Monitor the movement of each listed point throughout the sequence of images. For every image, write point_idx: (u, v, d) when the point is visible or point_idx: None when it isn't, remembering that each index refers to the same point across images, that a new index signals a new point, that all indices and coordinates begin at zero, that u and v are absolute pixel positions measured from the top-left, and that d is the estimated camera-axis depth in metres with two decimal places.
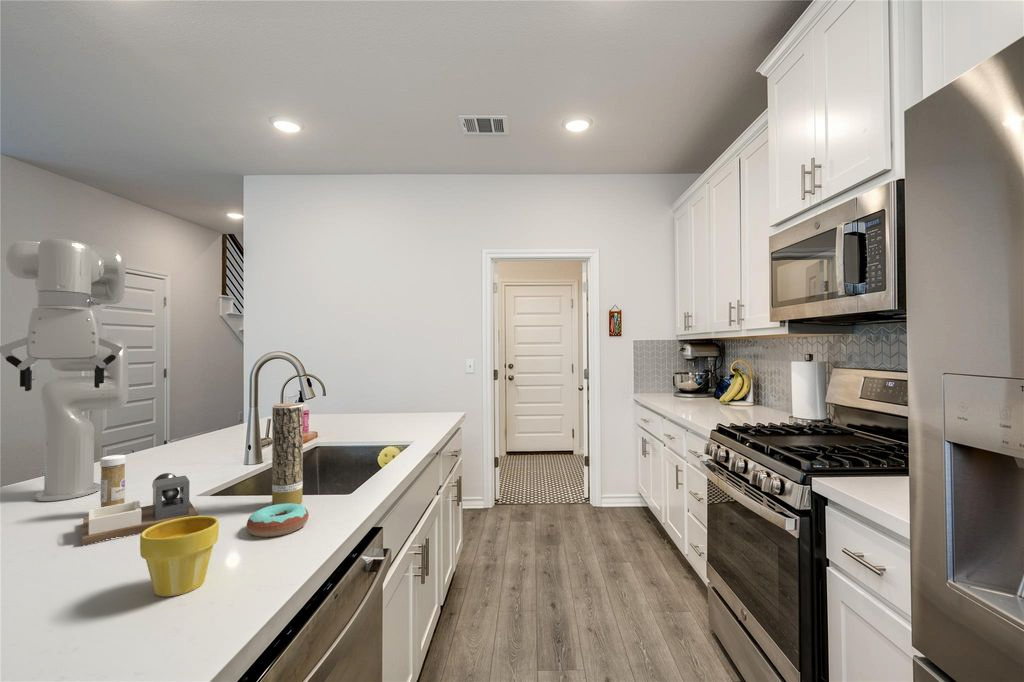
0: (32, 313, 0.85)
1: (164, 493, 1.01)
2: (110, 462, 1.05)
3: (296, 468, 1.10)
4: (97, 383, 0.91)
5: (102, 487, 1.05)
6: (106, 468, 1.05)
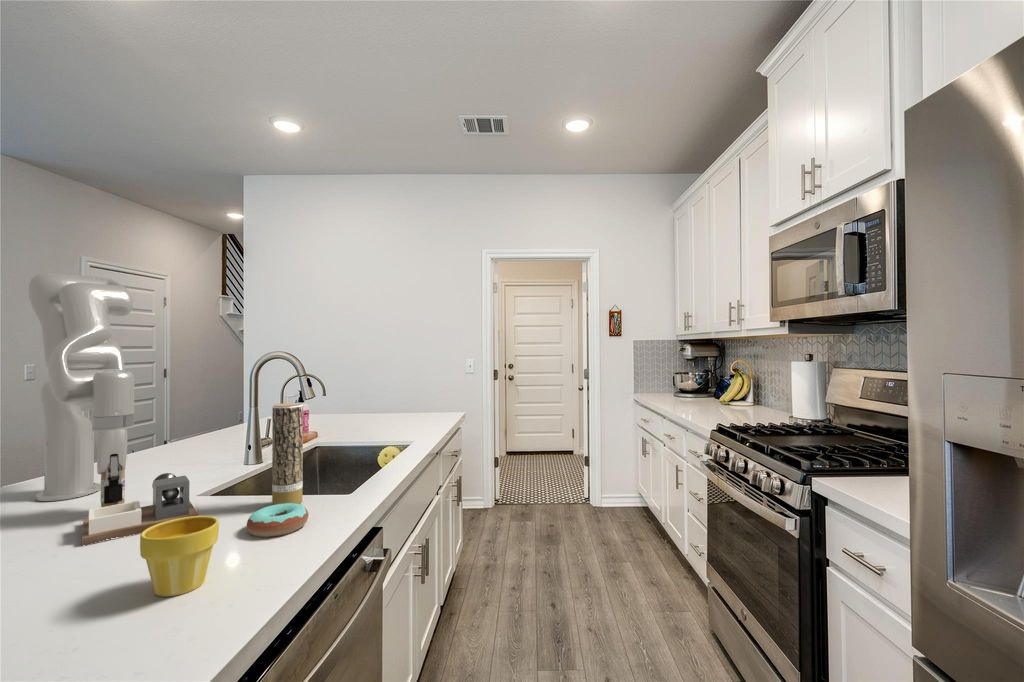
0: (122, 434, 1.05)
1: (164, 493, 1.01)
2: None
3: (296, 468, 1.10)
4: None
5: (102, 487, 1.05)
6: None
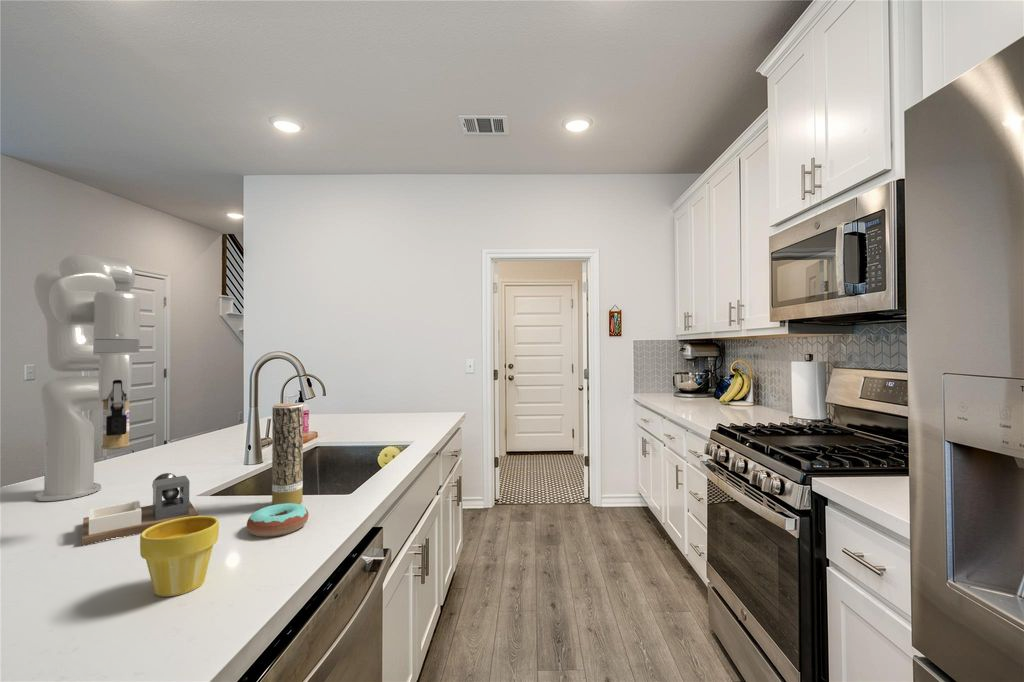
0: (126, 359, 0.95)
1: (164, 493, 1.01)
2: None
3: (296, 468, 1.10)
4: None
5: (104, 417, 0.95)
6: None
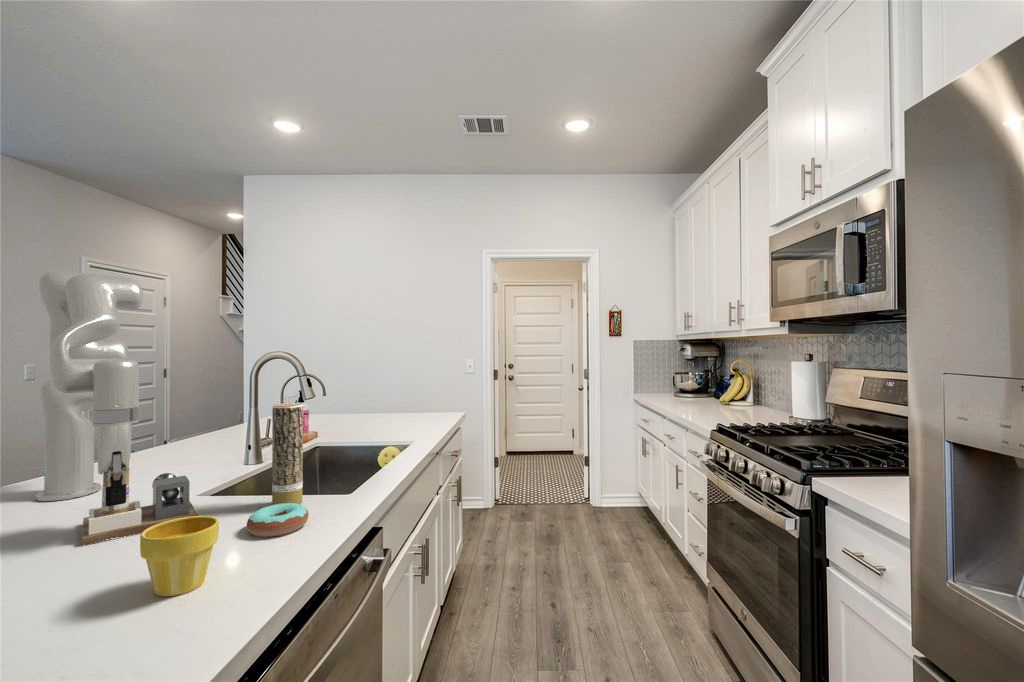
0: (125, 430, 0.94)
1: (164, 493, 1.01)
2: None
3: (296, 468, 1.10)
4: None
5: (104, 495, 0.94)
6: None
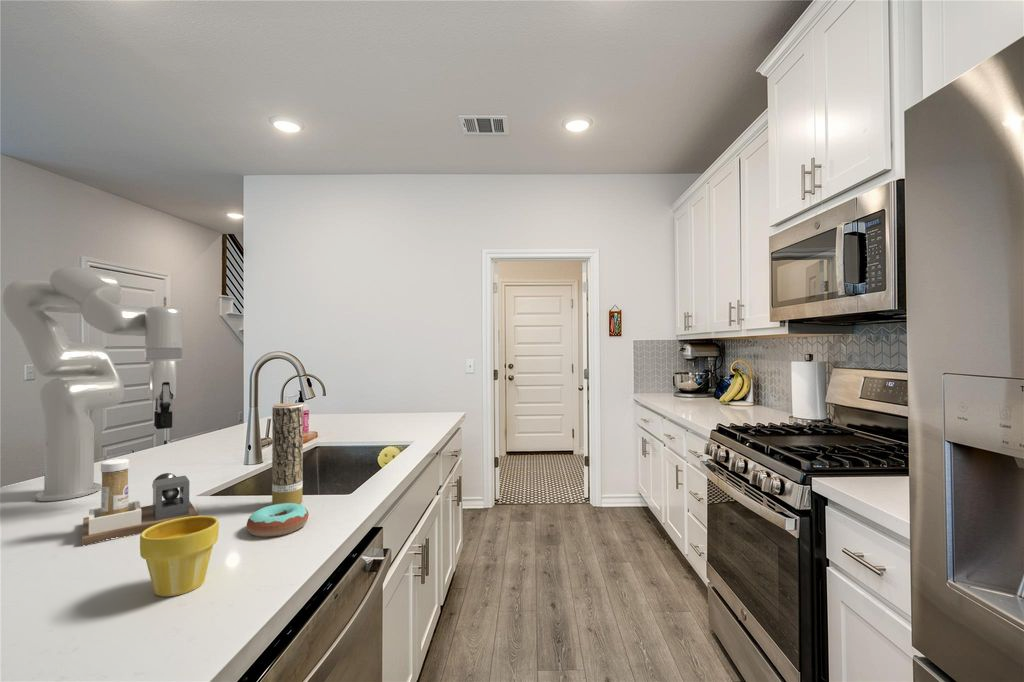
0: (172, 365, 1.12)
1: (164, 493, 1.01)
2: (112, 467, 0.95)
3: (296, 468, 1.10)
4: None
5: (103, 495, 0.94)
6: (107, 474, 0.94)
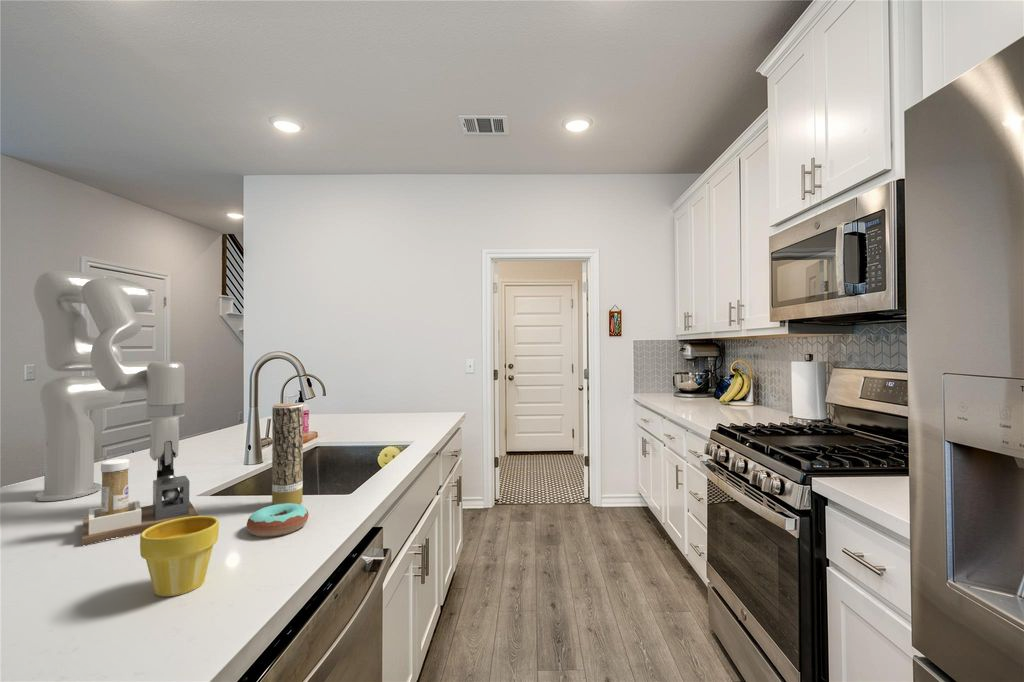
0: (175, 422, 1.09)
1: (165, 495, 1.00)
2: (112, 467, 0.95)
3: (296, 468, 1.10)
4: None
5: (103, 495, 0.94)
6: (107, 474, 0.94)
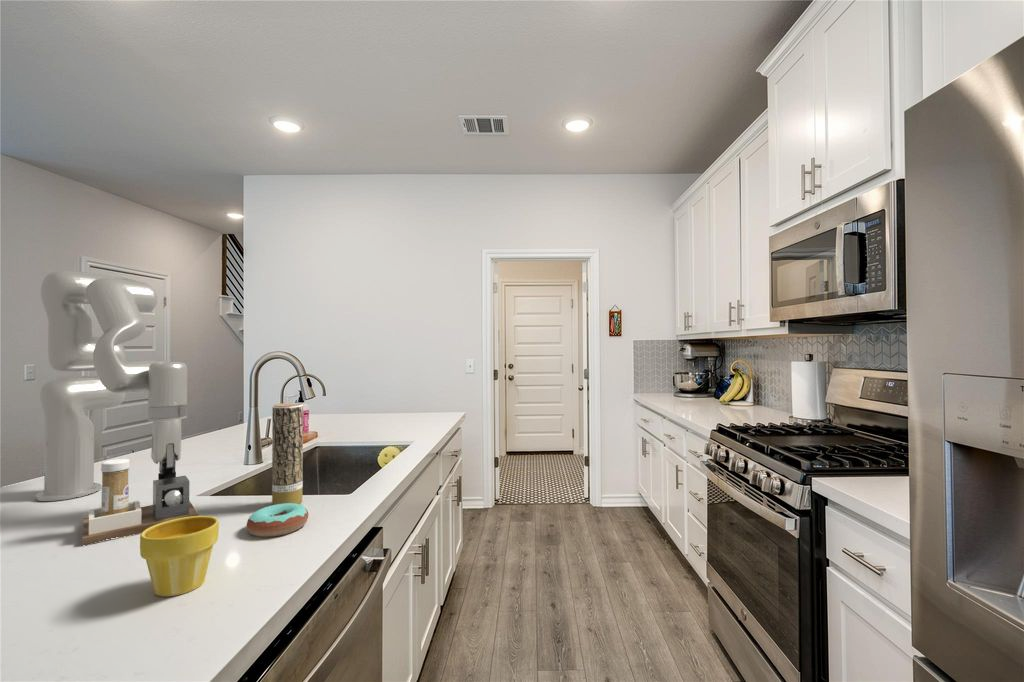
0: (177, 424, 1.06)
1: (167, 498, 0.98)
2: (112, 467, 0.95)
3: (296, 468, 1.10)
4: None
5: (103, 495, 0.94)
6: (107, 474, 0.95)
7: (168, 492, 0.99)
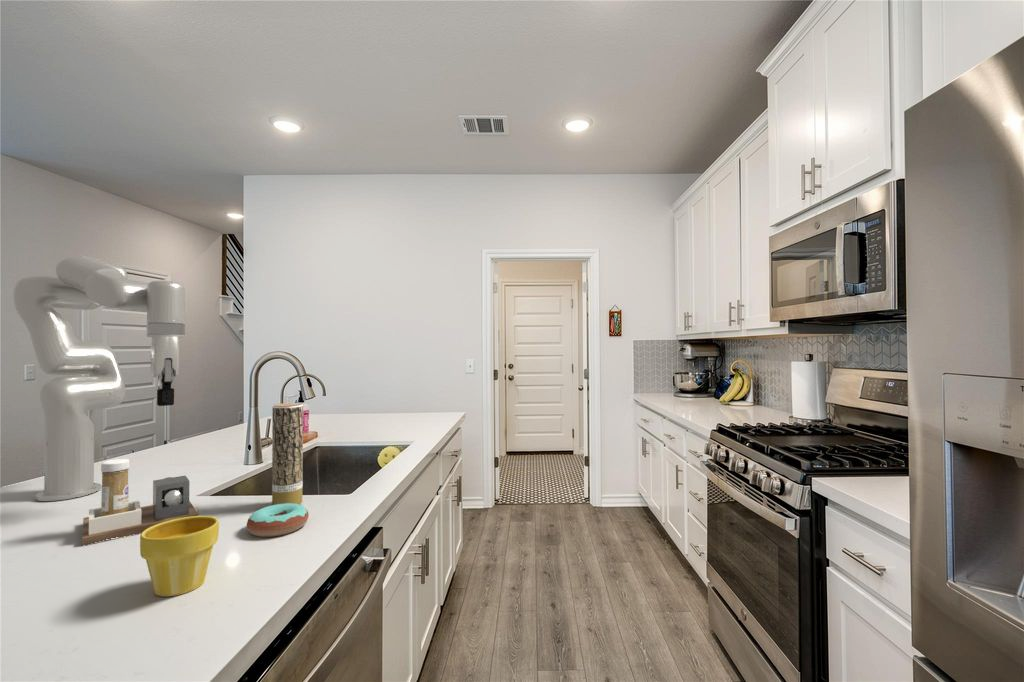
0: (175, 340, 1.09)
1: (167, 498, 0.98)
2: (112, 467, 0.95)
3: (296, 468, 1.10)
4: None
5: (103, 495, 0.94)
6: (107, 474, 0.95)
7: (168, 492, 0.99)
